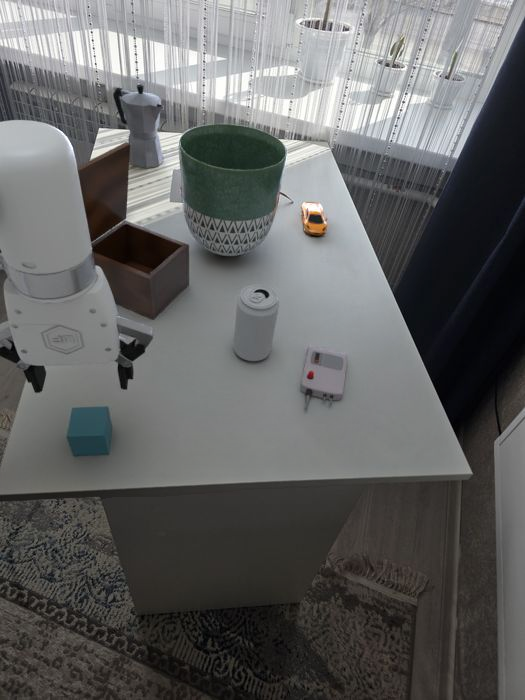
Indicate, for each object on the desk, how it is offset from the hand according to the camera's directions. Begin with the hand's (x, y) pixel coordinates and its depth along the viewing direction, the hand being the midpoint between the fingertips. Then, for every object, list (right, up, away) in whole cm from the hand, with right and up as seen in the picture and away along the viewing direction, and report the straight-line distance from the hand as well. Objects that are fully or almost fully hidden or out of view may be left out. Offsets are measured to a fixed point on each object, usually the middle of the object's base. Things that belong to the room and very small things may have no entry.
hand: (83, 382), depth 56 cm
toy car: (+33, +33, +53) cm, 71 cm away
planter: (+14, +26, +43) cm, 52 cm away
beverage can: (+20, +4, +23) cm, 30 cm away
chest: (-1, +15, +30) cm, 34 cm away
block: (-2, -9, +7) cm, 11 cm away
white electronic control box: (+31, -1, +20) cm, 37 cm away
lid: (-4, +29, +20) cm, 35 cm away
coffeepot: (-10, +54, +66) cm, 86 cm away
